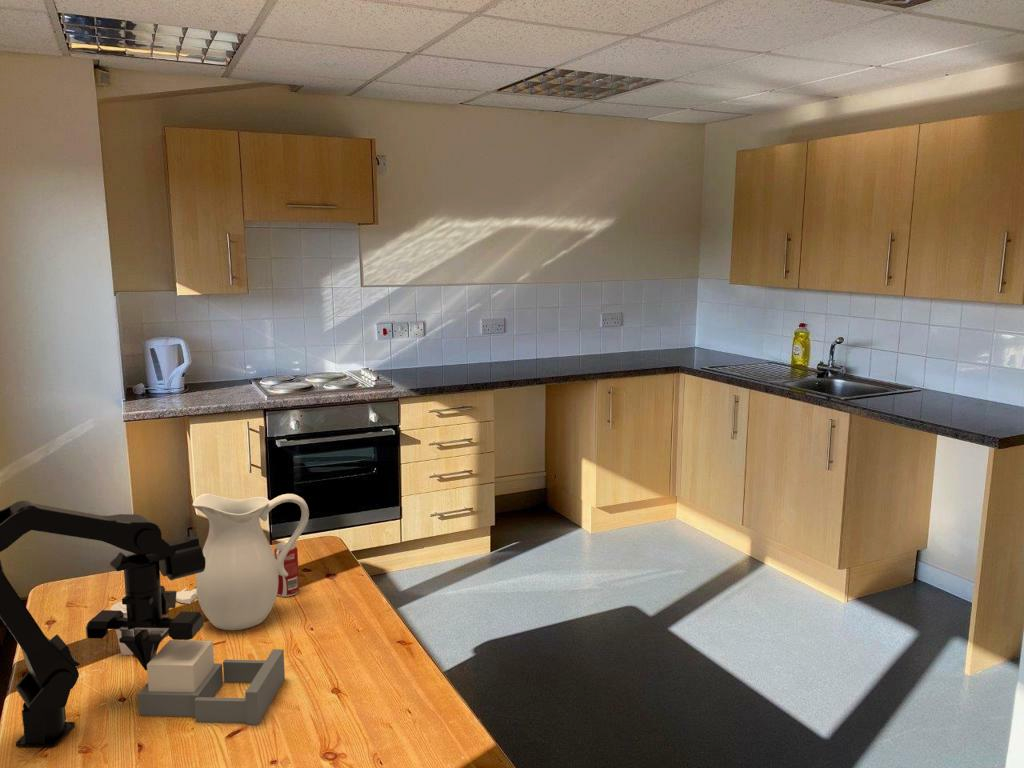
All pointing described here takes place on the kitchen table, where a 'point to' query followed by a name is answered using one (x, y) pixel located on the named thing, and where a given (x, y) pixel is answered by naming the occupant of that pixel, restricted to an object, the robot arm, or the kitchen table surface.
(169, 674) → the carton
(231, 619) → the pitcher
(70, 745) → the kitchen table surface
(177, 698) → the stand
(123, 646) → the smoothie
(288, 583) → the soda can
